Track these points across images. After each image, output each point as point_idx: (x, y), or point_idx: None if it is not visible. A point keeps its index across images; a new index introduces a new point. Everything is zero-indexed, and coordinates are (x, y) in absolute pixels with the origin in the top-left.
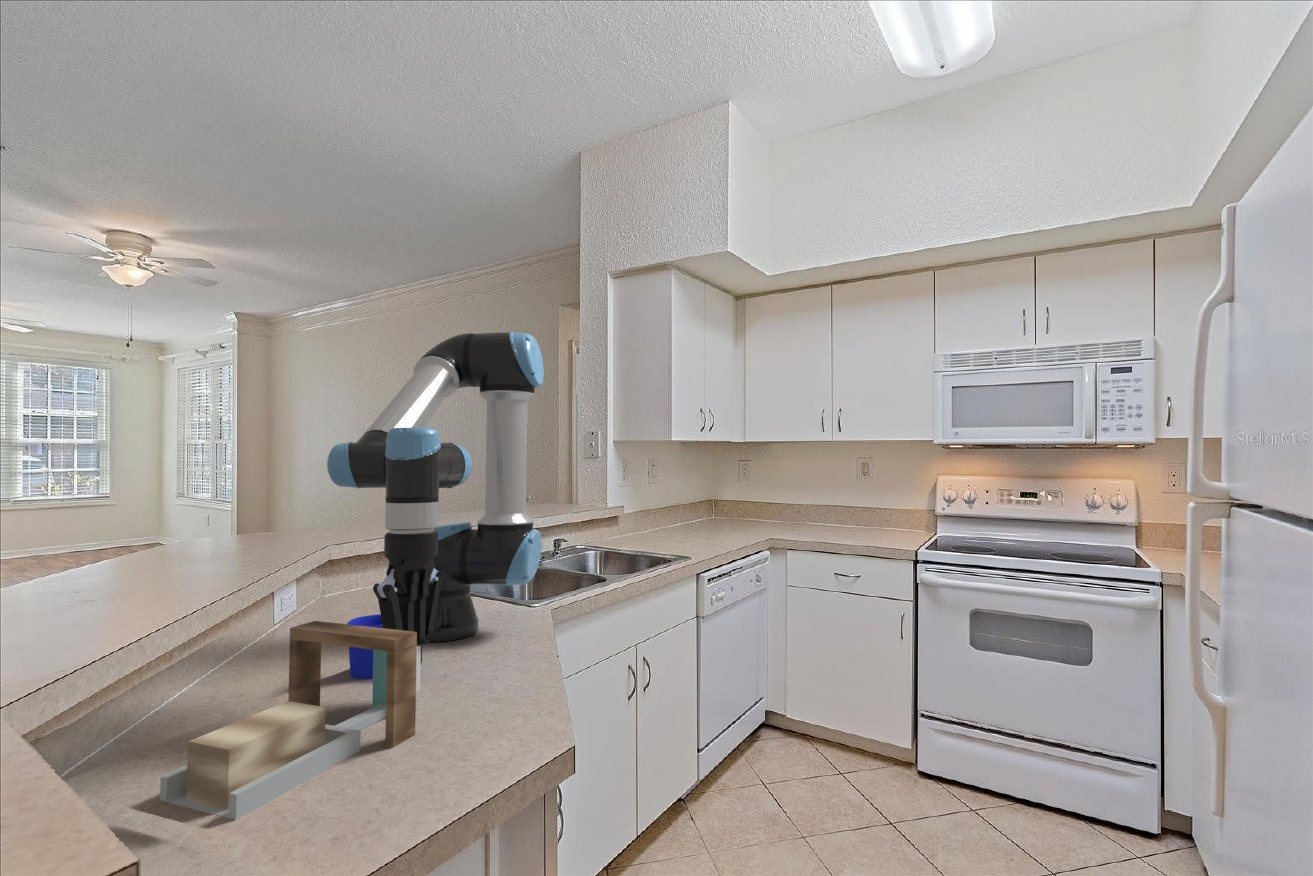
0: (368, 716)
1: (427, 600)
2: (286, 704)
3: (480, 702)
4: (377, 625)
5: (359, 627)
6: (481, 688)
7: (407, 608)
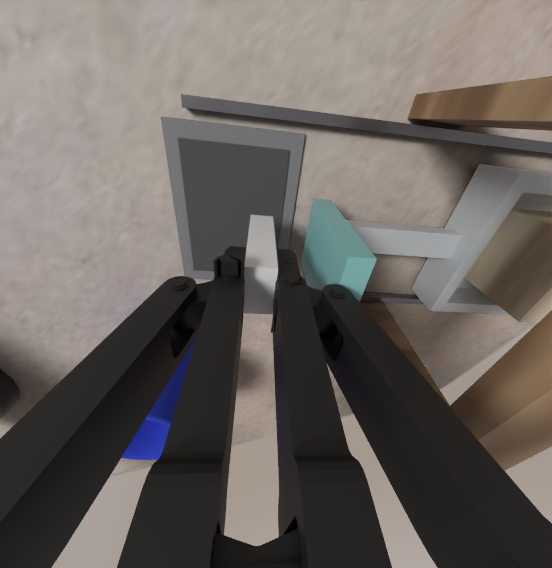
0: (383, 231)
1: (107, 433)
2: (540, 313)
3: (159, 72)
4: (163, 422)
5: (549, 404)
6: (84, 132)
7: (335, 417)
